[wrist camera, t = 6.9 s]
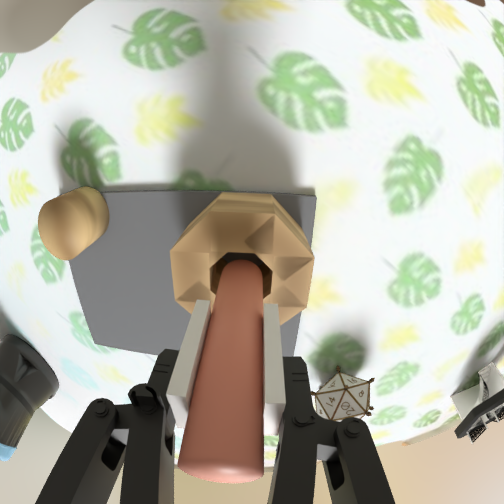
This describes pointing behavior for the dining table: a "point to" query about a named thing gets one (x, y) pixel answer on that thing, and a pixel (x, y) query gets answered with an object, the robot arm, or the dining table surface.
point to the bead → (244, 251)
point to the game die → (343, 397)
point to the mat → (155, 268)
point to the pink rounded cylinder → (229, 385)
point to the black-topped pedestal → (480, 403)
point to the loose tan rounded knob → (73, 222)
